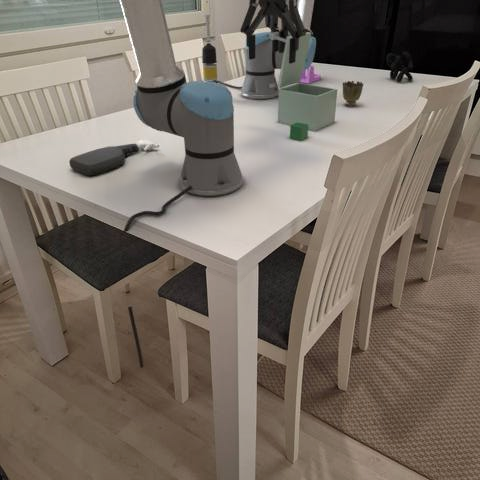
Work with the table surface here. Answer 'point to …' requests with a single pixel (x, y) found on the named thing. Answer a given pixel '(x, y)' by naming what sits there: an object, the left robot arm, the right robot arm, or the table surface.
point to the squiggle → (399, 66)
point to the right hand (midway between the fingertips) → (278, 51)
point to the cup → (352, 92)
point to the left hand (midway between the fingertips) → (271, 60)
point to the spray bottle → (106, 157)
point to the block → (299, 131)
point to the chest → (307, 105)
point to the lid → (295, 70)
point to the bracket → (310, 76)
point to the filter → (209, 57)
